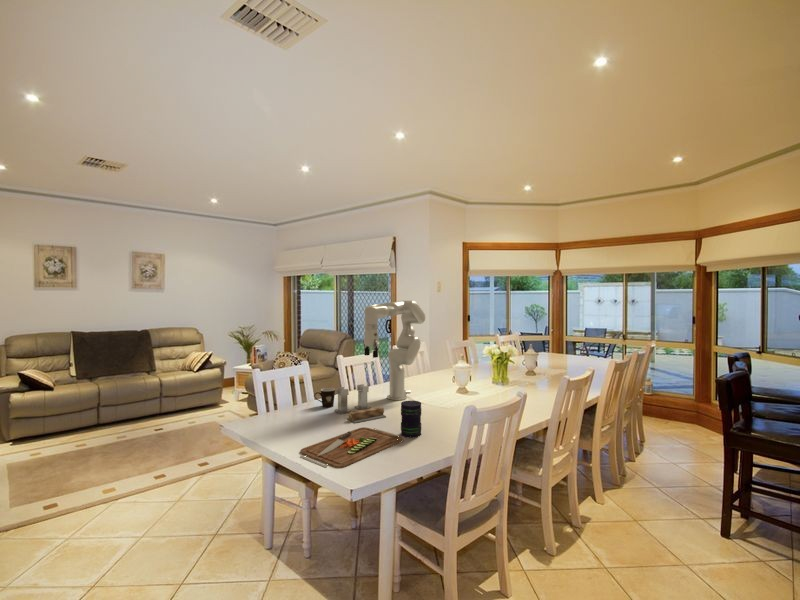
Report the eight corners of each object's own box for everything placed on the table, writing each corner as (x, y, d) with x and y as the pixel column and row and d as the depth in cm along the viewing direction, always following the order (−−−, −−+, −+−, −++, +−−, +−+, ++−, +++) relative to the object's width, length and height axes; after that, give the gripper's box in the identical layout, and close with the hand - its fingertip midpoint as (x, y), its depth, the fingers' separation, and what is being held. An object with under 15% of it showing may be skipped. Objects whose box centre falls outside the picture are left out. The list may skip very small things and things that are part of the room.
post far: (365, 405, 245) (365, 383, 244) (370, 408, 239) (370, 386, 239) (354, 407, 241) (354, 385, 241) (360, 410, 235) (360, 387, 235)
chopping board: (335, 473, 154) (335, 465, 154) (292, 455, 171) (292, 448, 171) (408, 440, 189) (408, 433, 189) (366, 427, 206) (366, 421, 206)
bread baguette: (380, 412, 228) (380, 406, 228) (384, 414, 225) (384, 408, 225) (348, 419, 217) (348, 412, 217) (351, 421, 214) (351, 414, 214)
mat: (377, 413, 230) (377, 412, 230) (386, 417, 222) (386, 416, 222) (347, 418, 219) (347, 417, 219) (355, 423, 212) (355, 422, 212)
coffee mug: (336, 404, 248) (336, 388, 247) (333, 408, 239) (333, 391, 239) (318, 404, 249) (318, 387, 248) (313, 407, 240) (313, 391, 240)
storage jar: (397, 436, 193) (397, 404, 192) (404, 429, 202) (404, 399, 202) (417, 439, 189) (417, 406, 189) (424, 432, 198) (424, 401, 198)
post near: (345, 409, 237) (345, 386, 237) (351, 412, 232) (351, 388, 231) (334, 411, 233) (334, 388, 233) (339, 414, 228) (339, 390, 227)
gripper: (384, 328, 235) (384, 357, 235) (369, 326, 249) (369, 354, 249) (373, 328, 231) (373, 358, 231) (358, 326, 245) (358, 355, 245)
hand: (371, 356), depth 240 cm, fingers open, 9 cm apart
